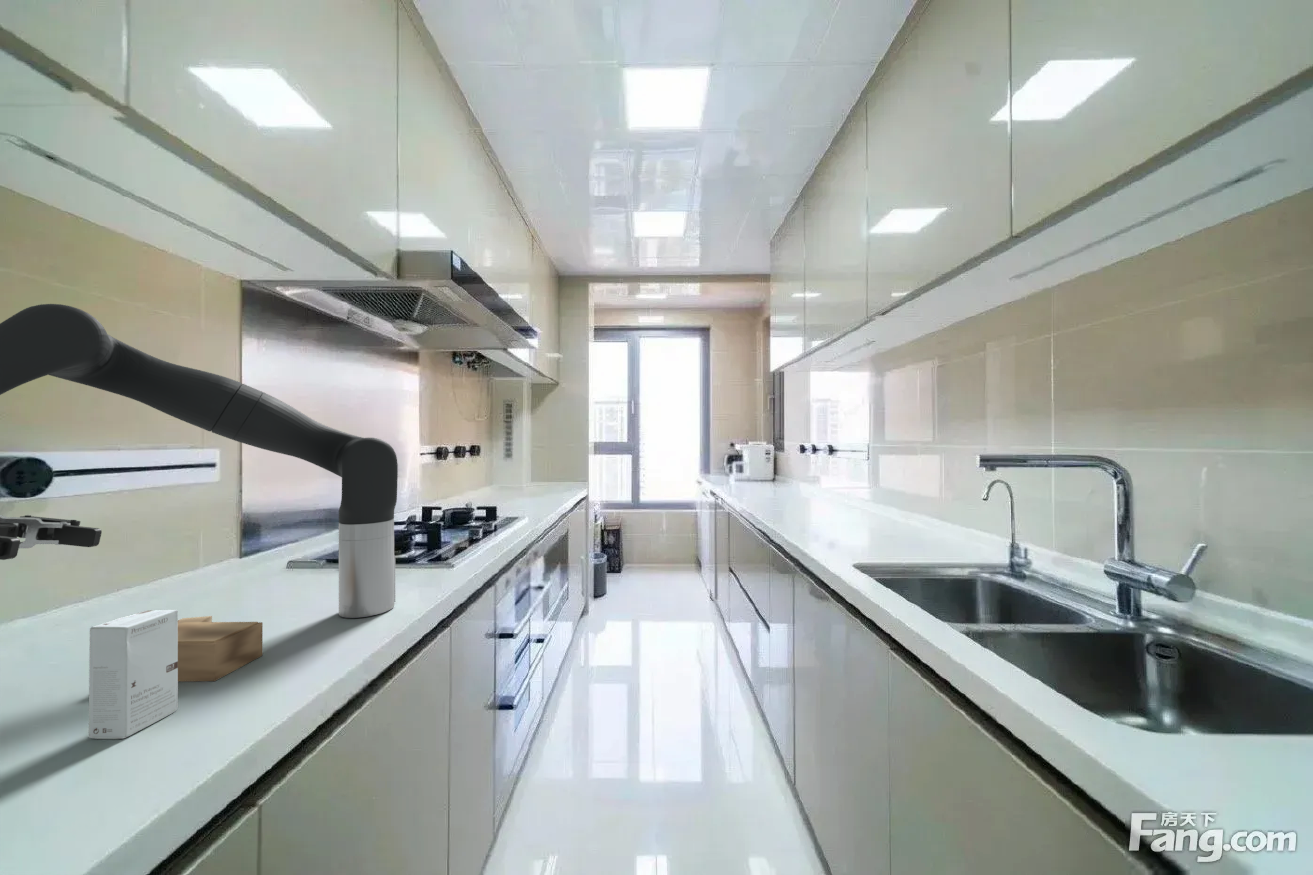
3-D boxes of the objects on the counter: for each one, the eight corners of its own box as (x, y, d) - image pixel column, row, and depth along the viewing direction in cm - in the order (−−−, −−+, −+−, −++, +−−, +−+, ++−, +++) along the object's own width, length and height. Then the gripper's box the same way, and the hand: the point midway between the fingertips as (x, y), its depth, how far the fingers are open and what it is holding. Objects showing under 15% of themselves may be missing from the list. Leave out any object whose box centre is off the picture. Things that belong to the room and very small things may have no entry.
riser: (183, 656, 74) (183, 621, 74) (262, 655, 74) (262, 620, 74) (126, 682, 66) (126, 642, 66) (214, 681, 66) (214, 642, 66)
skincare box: (126, 739, 53) (126, 627, 53) (84, 740, 53) (85, 627, 53) (181, 708, 59) (181, 608, 59) (144, 709, 59) (144, 608, 59)
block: (182, 642, 79) (182, 618, 79) (211, 640, 80) (211, 615, 80) (164, 653, 75) (164, 627, 76) (195, 650, 77) (196, 624, 77)
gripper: (-204, 494, 47) (-10, 515, 48) (-18, 489, 61) (127, 505, 62) (-226, 574, 46) (-29, 592, 48) (-33, 550, 60) (113, 564, 62)
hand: (59, 543), depth 55 cm, fingers open, 8 cm apart
